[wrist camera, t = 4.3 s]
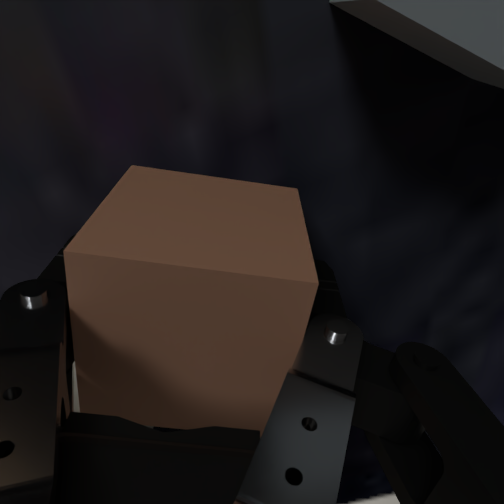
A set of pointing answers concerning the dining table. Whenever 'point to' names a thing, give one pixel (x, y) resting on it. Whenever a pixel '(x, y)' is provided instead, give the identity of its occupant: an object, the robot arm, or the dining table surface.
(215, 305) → the terracotta cube
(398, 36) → the blue-grey cube
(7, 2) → the dining table surface
